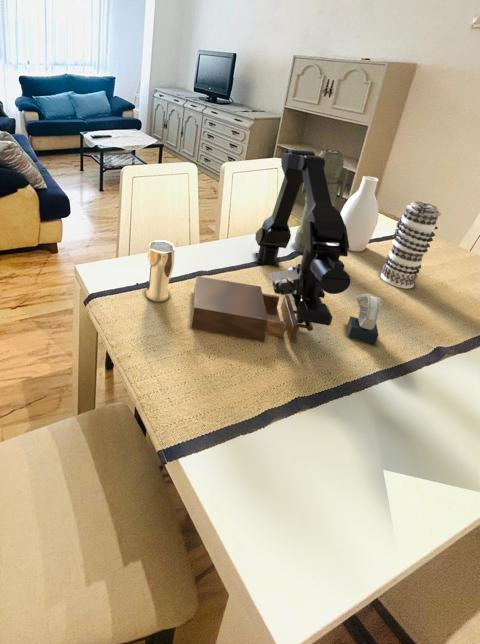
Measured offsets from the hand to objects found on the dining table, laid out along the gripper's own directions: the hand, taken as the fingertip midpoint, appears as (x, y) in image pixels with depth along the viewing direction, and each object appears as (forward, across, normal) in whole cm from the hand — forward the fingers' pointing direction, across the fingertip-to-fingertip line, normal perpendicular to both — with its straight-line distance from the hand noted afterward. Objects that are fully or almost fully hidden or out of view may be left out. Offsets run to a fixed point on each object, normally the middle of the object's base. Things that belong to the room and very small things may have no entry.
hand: (299, 322), depth 93 cm
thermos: (+2, -44, +12) cm, 46 cm away
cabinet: (+2, 0, -17) cm, 17 cm away
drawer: (+1, 0, -8) cm, 8 cm away
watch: (+2, -2, +15) cm, 15 cm away
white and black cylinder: (+2, -32, +35) cm, 47 cm away
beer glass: (+2, -4, -35) cm, 35 cm away
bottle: (+2, -52, +28) cm, 59 cm away
